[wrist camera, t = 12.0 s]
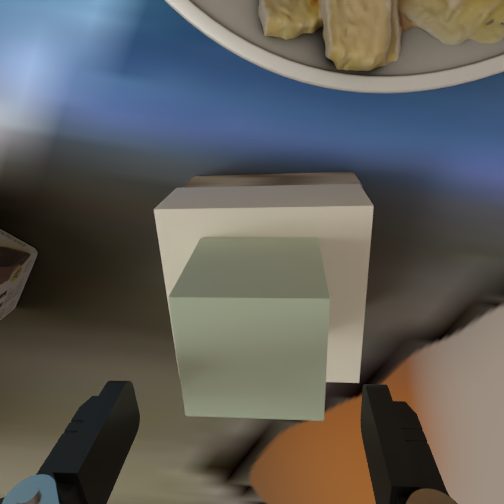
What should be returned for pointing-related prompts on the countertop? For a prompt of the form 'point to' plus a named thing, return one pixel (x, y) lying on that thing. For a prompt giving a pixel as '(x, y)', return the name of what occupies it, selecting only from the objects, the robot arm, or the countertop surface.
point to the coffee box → (13, 270)
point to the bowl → (359, 40)
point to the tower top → (284, 226)
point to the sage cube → (252, 328)
